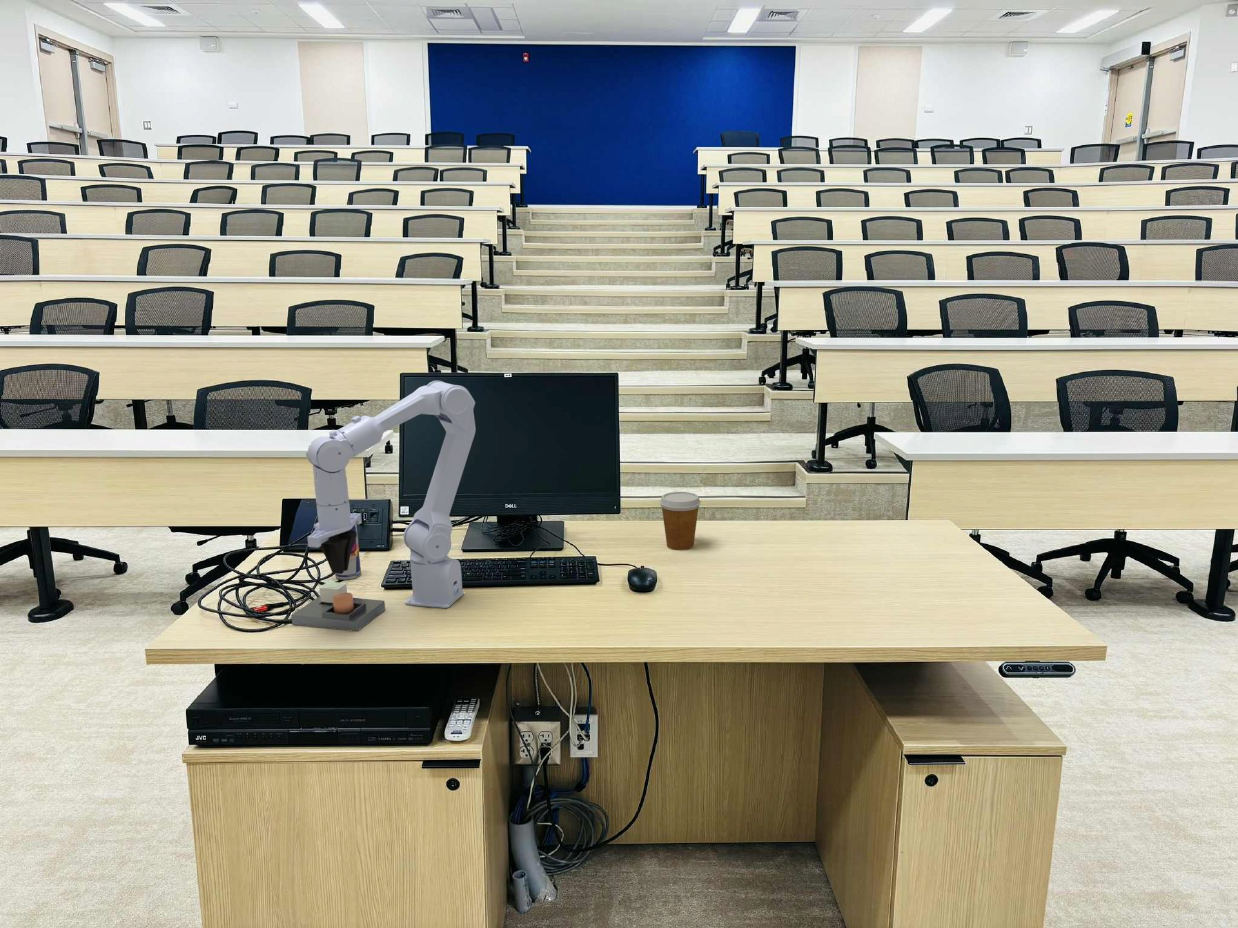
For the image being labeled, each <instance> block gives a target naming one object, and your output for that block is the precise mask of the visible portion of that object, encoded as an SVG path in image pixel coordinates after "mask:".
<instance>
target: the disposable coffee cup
mask: <svg viewBox="0 0 1238 928" xmlns="http://www.w3.org/2000/svg"><path fill="white" fill-rule="evenodd" d="M701 503H702V502H701V500H700V497H699V495H698V494H696V493H694V492H689V491H672V492H667V493H664V494H663V495H661V499H660V501H659V505H660V507H661V513H662V518H663V527H664V534H665V541H666V546H667V548H669V549H671V550H675V551H685V550H689V549H690V550H691V549H692V548H694V544H695V538H696V529H697V521H698V514H699V507H700V506H701Z"/></svg>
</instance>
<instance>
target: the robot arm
mask: <svg viewBox="0 0 1238 928" xmlns="http://www.w3.org/2000/svg"><path fill="white" fill-rule="evenodd" d="M475 405H476V401H475V400H474V398H473V396H472V395H471V393H470V391H469V390H468V388H466V387H464V386H462V385H458V384H453V383H452V384H451V383H447V382H444V381H443V380H432V381H430V382H428V384H426V385H422V386H420V387H418V388H417V389H416V390H414V391H412V393H410V394H409V395H407V396H406V397H404V398H401V399H400V400H399V401H397V402H396V403H394V404H393V405H391V406H389V407H388V408H387V409H385V410H383V411H382V412H380V413H378V414H377V415H375V416H374V417H372V416H369V415H362V416H360V415H355V416H353V417H352V418H351V422H349V423H348V424H345V425H344V426H343V427H341V428H339V429H337V430H335V429H332V430H330V431H329V436H324V435H323V436H318V437H316V438H314V439H313V440H312V441H311V442H310V444H309V445H308V449H307V452H306V453H305V457H306V458H307V461H308V462H309V463H310V464H311V465H312V471H313V473H312V474H313V484H314V493H315V495H314V496H315V503H316V511H317V512H316V513H317V521H318V522H316V523H314V524H313V527H314V530H313V531H312V533H311V534H310V535H308V536H307V537H306V538H307V546H308V547H309V548H319V549H320V550H321V551H322V553H323V555H324V557H325V559H326V561H327V563H328V566H329V568H330V570H331V573H332V574H335V573H337V574H342V573H344V571H347V570H348V566H349V559H350V554H351V549H352V546H353V543H354V541H355V539H356V537H357V536H358V531H357V532H356V531H349V530H350V529H352V527H353V526H354V525H356V526H357V525H360V524H362V514H361V513H359V512H358V513H357V512H352V513H351V510H350V509H351V508H350V506H351V505H350V499H349V488H348V486H349V485H348V478H347V474H346V473H347V471H346V468H347V466H348V464H349V462H350V460H351V459H353V458H355V457H356V456H358V455H360V454H362V453H364V452H365V451H367V450H368V449H369V450H370V448H372V447H374V446H376V445H377V444H379V443H381V441H382V439H383V435H384V433H385V432H388V431H389V430H391V429H393V428H395V427H397V426H399V425H401V424H403V423H405V422H408V421H409V420H411V419H413V418H415V417H417V416H418V415H433V416H435V417H436V418H438V420H439V422H440V424H441V425H442V427H443V428H444V431H445V435H444V439H443V441H442V445H441V449H440V451H439V452H440V453H439V455H438V457H437V458H438V459H437V460H436V464H435V466H434V470H433V475H432V477H431V480H430V483H429V486H428V489H427V493H426V496H425V499H424V502H423V505H422V507H421V508H420V509H418V510H417V511H416V512H415V513H414V514H413V517H412V520H411V522H409V524H408V525H407V527H406V528H405V529H404V531H403V542H404V545H405V546H406V548H408V549H409V551H410V555H409V562H410V575H411V586H412V587H411V588H412V596H411V597H409V598H408V599H406V601H404V605H409V606H410V605H411V606H418V607H419V606H420V607H429V608H430V607H431V608H441V609H448V608H450V607H451V606H452V605H453V604H454V603H456V602H457V600H459V599H460V598H461V597H462V596H463V595H464V594H465V591H464V590H463V580H462V579H463V578H462V566H461V563H460V561H459V560H458V559H455V558H452V557H449V556H448V555H449V553H450V551H451V549H452V539H451V535H452V532H453V524H452V520H451V517H450V513H451V509H452V507H453V505H454V501H455V497H456V494H457V492H458V489H459V485H460V482H461V479H462V476H463V472H464V469H465V467H466V463H467V460H468V456H469V454H470V451H471V447H472V444H473V441H474V438H475V435H476V420H475V415H474V414H475V413H474V408H475Z"/></svg>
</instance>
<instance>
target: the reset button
mask: <svg viewBox="0 0 1238 928" xmlns="http://www.w3.org/2000/svg"><path fill="white" fill-rule="evenodd" d="M353 598H354V596H353V594H352V593H351V592H347V593H339V594H336V595H334V596H333V605H334V613H340V614H349V613H351V612H352V611H353V610H354V604H353Z"/></svg>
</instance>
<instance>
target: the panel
mask: <svg viewBox="0 0 1238 928" xmlns="http://www.w3.org/2000/svg"><path fill="white" fill-rule="evenodd" d="M353 604H354V610H353V611H352V612H351V613H349V614H340V613H334V605H333V603H329V602H321V597H320V595H319V596H318V597H316V598H315V599H314V600H312V601H310V602H309V603H307V604H305V605H304V606H302V607H301V608H300V609H297V610H296V611H295V612H294V613H291V615H290V616H291V624H292V623H294V625H293V626H301V627H302V626H304V627H311V628H321V629H322V628H323V629H330V630H339V631H348V630H350V632H359V631H361V630H362V629H363V628H365V627H366V626H367V625H368V624H369V623H371V622H372V621H374V620H375V619H376V618H377V617H378V616H380V615H381V614H383V613H384V612H385V611H386V603H385V600H380V599H370V598H360V597H353ZM351 630H352V631H351Z"/></svg>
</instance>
